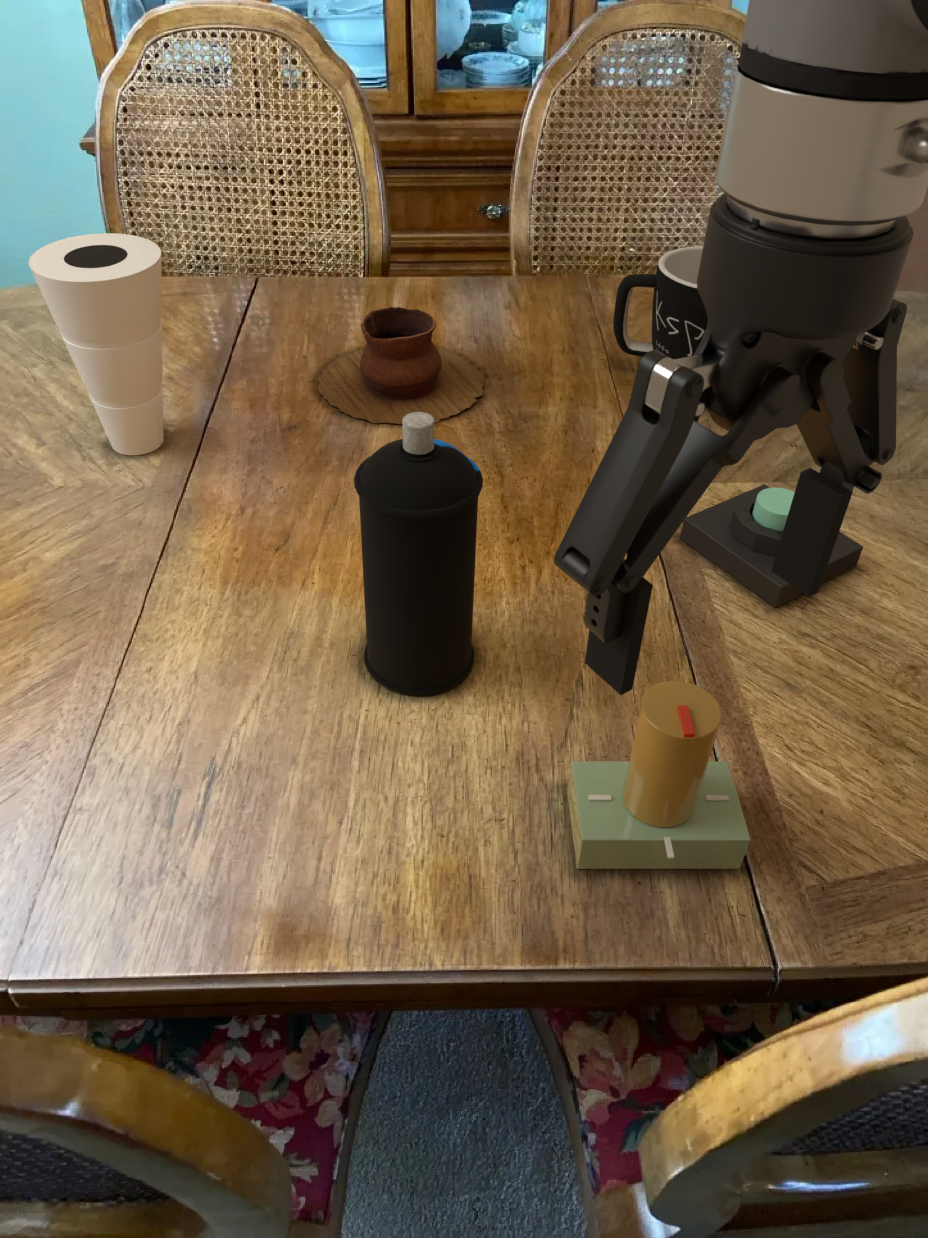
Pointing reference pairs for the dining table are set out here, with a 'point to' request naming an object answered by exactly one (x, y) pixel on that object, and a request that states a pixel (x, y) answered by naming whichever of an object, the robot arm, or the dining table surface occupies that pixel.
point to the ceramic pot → (400, 372)
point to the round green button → (773, 507)
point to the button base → (754, 547)
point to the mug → (666, 306)
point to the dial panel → (632, 844)
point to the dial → (670, 752)
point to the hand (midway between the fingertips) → (706, 626)
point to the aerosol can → (418, 559)
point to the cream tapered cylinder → (111, 328)
